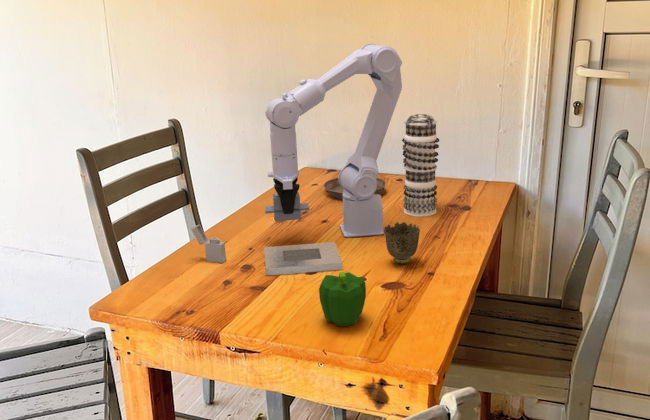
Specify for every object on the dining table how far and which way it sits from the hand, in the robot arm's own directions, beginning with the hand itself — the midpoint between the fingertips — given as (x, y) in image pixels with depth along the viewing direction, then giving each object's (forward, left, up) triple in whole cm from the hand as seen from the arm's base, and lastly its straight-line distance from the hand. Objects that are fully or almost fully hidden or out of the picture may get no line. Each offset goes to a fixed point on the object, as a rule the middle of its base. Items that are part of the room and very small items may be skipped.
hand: (287, 210), depth 156 cm
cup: (-23, +17, -8) cm, 30 cm away
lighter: (+18, +7, -8) cm, 21 cm away
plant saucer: (-21, -35, -8) cm, 42 cm away
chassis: (-2, +12, -8) cm, 14 cm away
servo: (0, 0, -2) cm, 2 cm away
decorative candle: (-35, -15, -8) cm, 39 cm away
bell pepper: (-7, +40, -8) cm, 41 cm away
